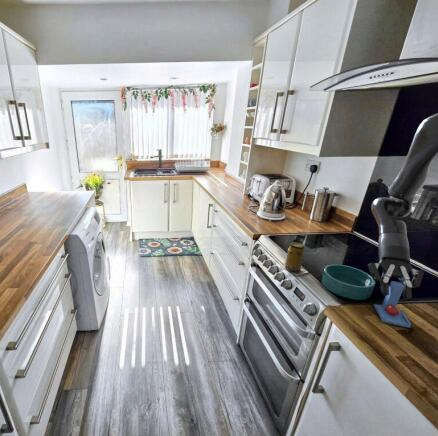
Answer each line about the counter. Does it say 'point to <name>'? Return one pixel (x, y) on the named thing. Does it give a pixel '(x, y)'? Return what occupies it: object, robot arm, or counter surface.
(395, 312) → the bead
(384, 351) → the counter surface
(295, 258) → the condiment
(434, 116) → the robot arm
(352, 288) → the teal ribbed bowl
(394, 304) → the blue base with post
